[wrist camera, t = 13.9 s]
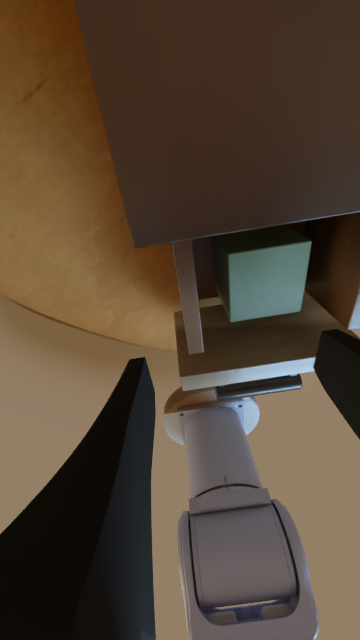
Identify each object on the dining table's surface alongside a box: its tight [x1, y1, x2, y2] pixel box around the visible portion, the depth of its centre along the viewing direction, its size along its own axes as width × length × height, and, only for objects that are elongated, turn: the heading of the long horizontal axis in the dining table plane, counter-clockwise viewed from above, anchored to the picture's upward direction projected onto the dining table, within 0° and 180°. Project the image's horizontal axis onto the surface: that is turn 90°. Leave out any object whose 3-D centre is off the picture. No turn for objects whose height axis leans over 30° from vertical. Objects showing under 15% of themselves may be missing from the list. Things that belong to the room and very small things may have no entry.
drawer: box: [171, 212, 360, 401], centre depth 15 cm, size 17×10×7 cm, turn 8°
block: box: [213, 225, 312, 322], centre depth 14 cm, size 4×4×4 cm
